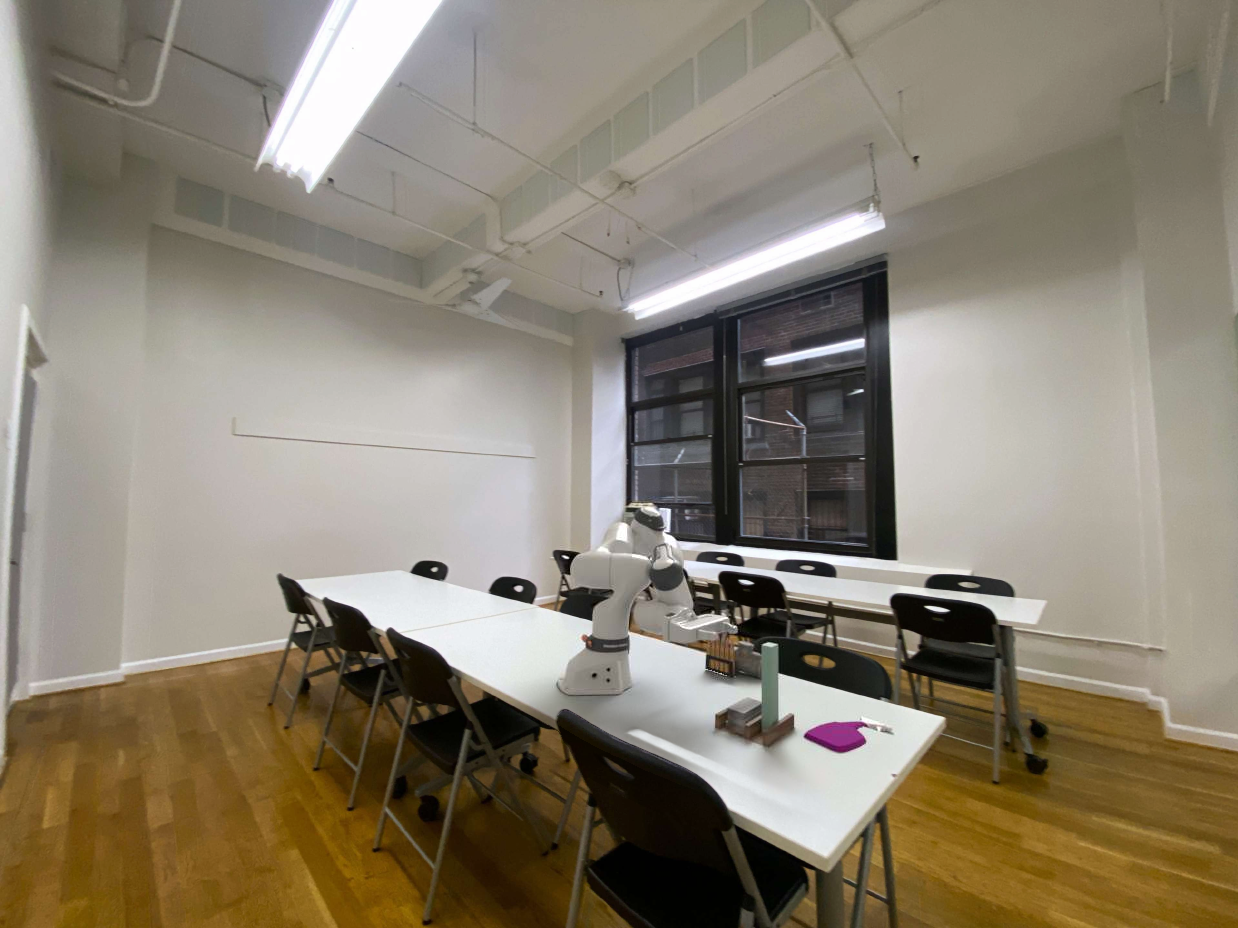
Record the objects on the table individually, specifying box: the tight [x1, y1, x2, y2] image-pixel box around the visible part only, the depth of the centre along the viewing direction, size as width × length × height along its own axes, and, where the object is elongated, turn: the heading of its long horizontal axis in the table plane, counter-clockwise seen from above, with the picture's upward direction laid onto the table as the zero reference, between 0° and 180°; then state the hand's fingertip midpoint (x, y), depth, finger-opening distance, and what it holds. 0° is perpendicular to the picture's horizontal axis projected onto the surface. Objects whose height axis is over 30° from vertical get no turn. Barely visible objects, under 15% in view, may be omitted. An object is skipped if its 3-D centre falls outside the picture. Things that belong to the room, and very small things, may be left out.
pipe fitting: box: [734, 640, 762, 679], centre depth 159 cm, size 12×8×10 cm, turn 53°
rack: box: [714, 701, 796, 748], centre depth 116 cm, size 14×14×4 cm
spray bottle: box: [803, 716, 893, 754], centre depth 115 cm, size 3×11×25 cm
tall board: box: [761, 641, 780, 734], centre depth 115 cm, size 2×4×20 cm
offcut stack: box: [725, 697, 762, 735], centre depth 118 cm, size 5×11×4 cm, turn 137°
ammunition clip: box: [704, 634, 737, 678], centre depth 159 cm, size 11×2×12 cm, turn 45°
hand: (726, 633), depth 123 cm, fingers open, 8 cm apart
